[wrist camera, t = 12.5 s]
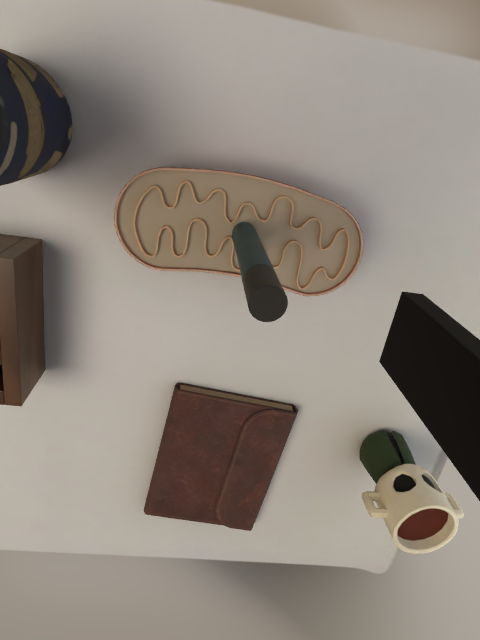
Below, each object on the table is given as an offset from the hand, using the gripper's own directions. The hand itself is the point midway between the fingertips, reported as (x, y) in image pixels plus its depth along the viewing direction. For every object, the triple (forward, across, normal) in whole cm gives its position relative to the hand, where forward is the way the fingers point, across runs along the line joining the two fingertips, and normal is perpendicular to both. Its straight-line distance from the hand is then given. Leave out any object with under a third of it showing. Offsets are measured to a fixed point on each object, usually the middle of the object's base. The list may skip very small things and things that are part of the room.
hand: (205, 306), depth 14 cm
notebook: (+31, +6, -34) cm, 46 cm away
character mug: (+31, +27, -30) cm, 51 cm away
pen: (+26, +4, -3) cm, 26 cm away
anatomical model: (+31, +4, -3) cm, 32 cm away
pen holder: (+31, -18, -15) cm, 39 cm away
